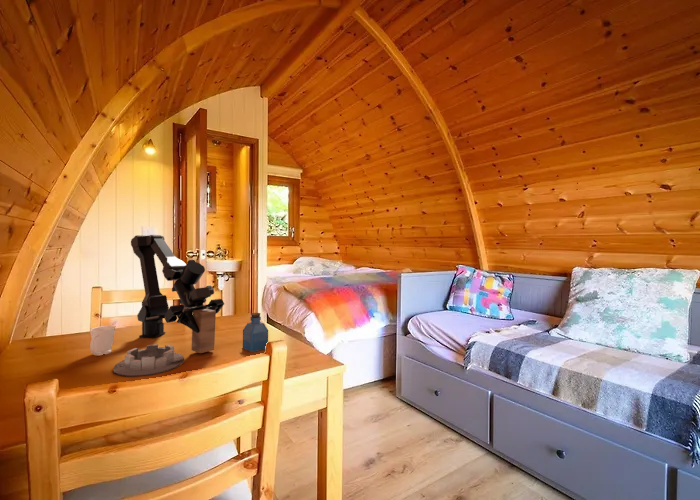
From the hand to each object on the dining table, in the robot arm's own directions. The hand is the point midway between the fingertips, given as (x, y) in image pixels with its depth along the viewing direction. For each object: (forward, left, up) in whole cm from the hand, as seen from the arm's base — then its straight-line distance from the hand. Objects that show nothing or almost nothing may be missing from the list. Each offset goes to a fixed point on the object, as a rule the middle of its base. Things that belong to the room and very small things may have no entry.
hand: (206, 330), depth 110 cm
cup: (-32, -5, -8) cm, 34 cm away
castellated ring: (-11, -11, -8) cm, 18 cm away
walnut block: (-1, +1, -7) cm, 7 cm away
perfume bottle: (+14, +8, -8) cm, 18 cm away
